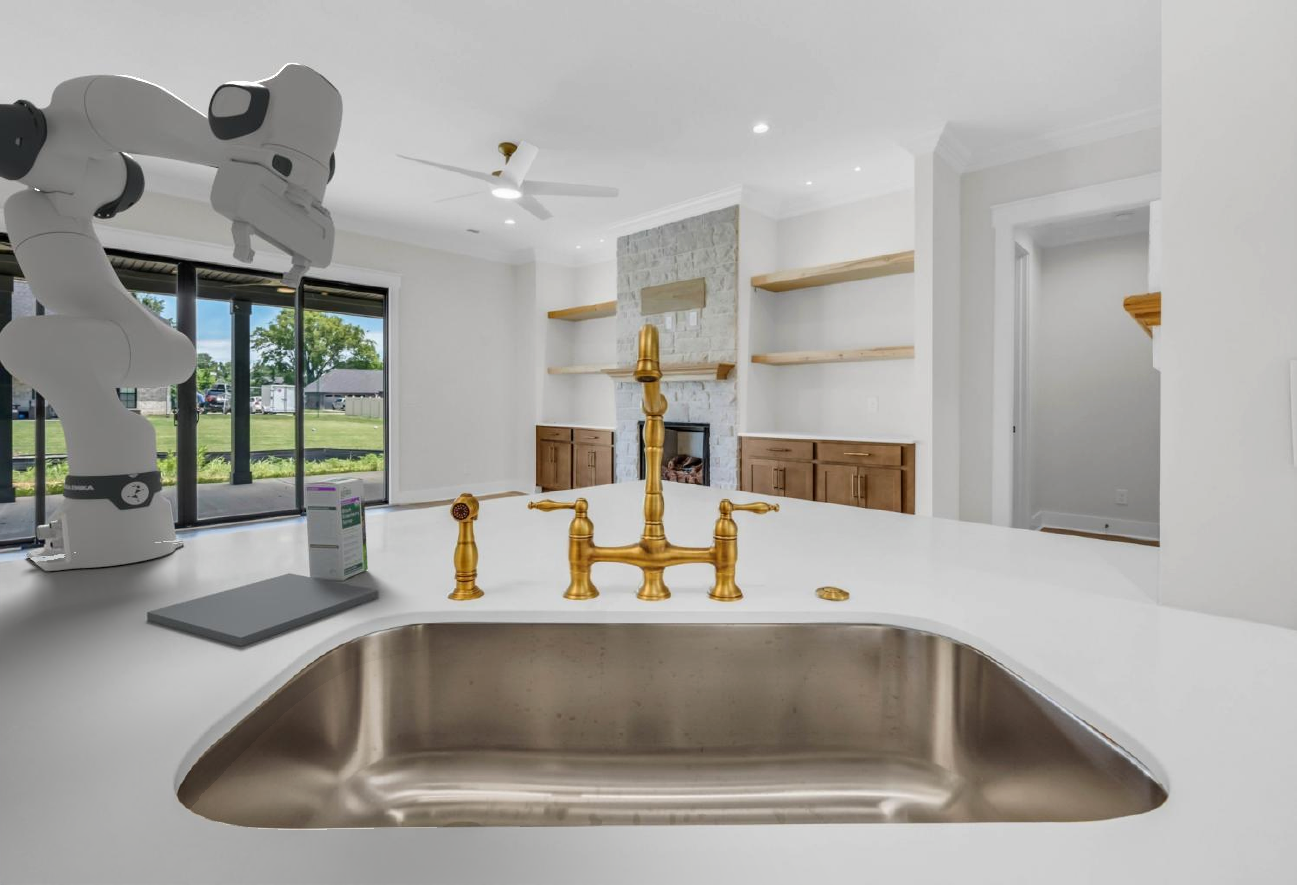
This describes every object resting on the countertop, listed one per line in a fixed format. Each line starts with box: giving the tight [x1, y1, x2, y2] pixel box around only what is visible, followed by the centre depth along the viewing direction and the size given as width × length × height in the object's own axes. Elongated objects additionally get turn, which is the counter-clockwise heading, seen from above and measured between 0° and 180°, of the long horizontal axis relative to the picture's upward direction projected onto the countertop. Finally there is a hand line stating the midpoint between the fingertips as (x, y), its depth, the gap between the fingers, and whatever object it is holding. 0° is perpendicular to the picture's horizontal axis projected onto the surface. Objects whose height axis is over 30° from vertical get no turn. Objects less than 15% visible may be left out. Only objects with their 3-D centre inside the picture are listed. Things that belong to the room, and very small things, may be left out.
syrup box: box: [304, 476, 369, 582], centre depth 92 cm, size 6×6×14 cm
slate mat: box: [146, 572, 379, 648], centre depth 78 cm, size 18×18×1 cm
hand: (267, 274), depth 87 cm, fingers open, 8 cm apart
